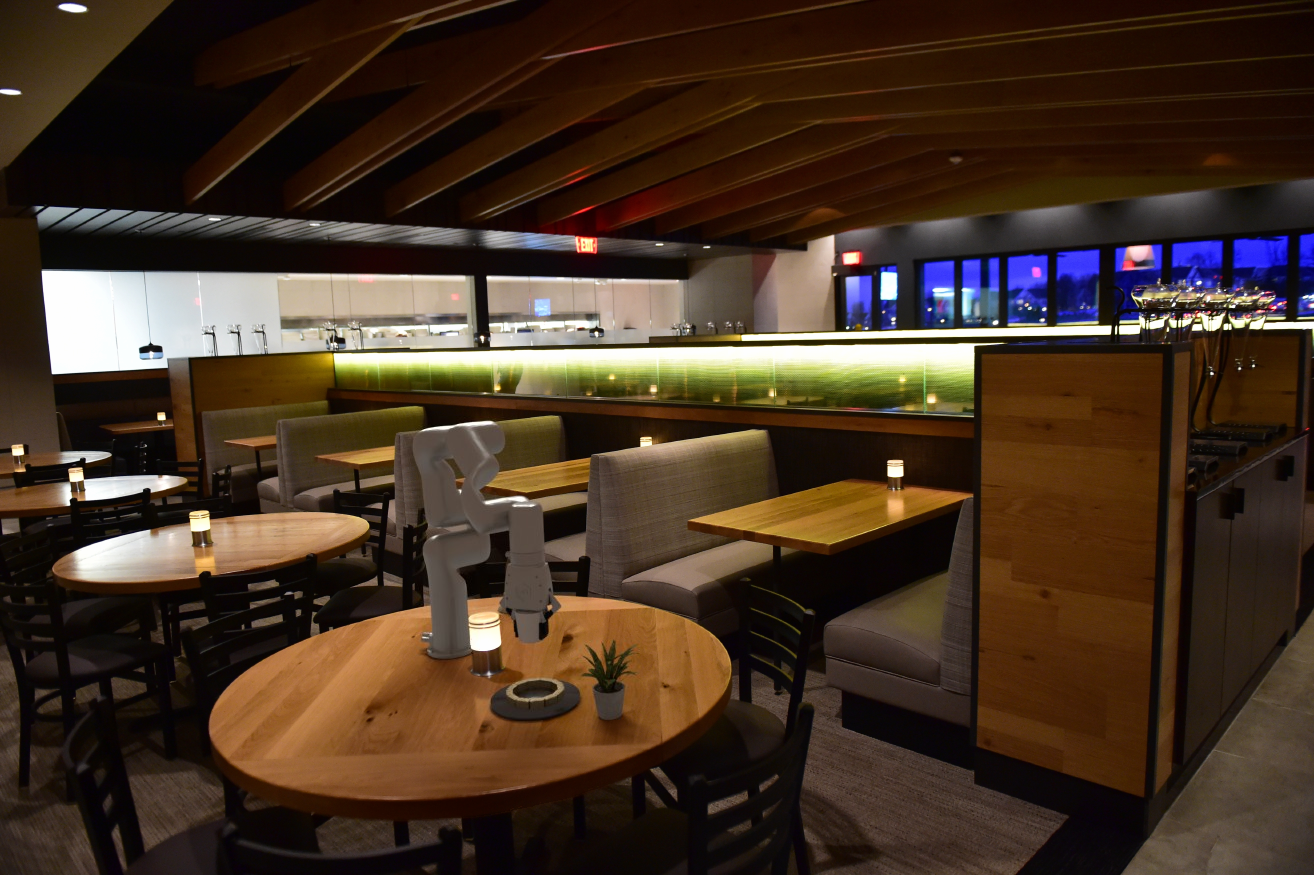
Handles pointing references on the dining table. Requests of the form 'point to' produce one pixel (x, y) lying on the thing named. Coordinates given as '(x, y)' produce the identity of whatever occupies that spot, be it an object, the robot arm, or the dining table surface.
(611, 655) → the house plant
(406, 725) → the dining table surface
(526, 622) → the gray tapered cylinder
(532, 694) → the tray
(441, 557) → the robot arm
